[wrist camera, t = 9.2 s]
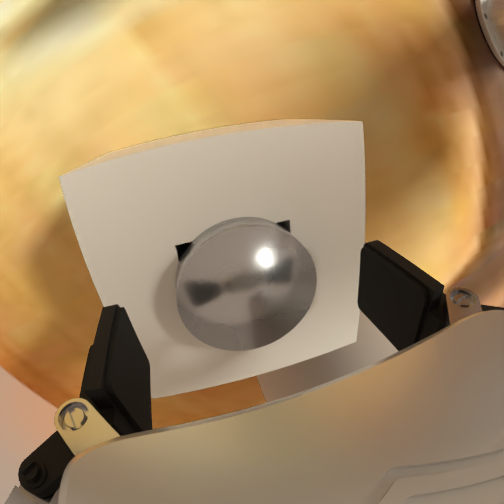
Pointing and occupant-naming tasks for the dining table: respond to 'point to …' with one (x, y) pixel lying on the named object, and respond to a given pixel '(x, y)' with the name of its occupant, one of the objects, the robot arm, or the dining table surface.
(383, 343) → the cylinder vase
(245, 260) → the silver knob
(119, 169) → the hitch block
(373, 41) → the dining table surface
